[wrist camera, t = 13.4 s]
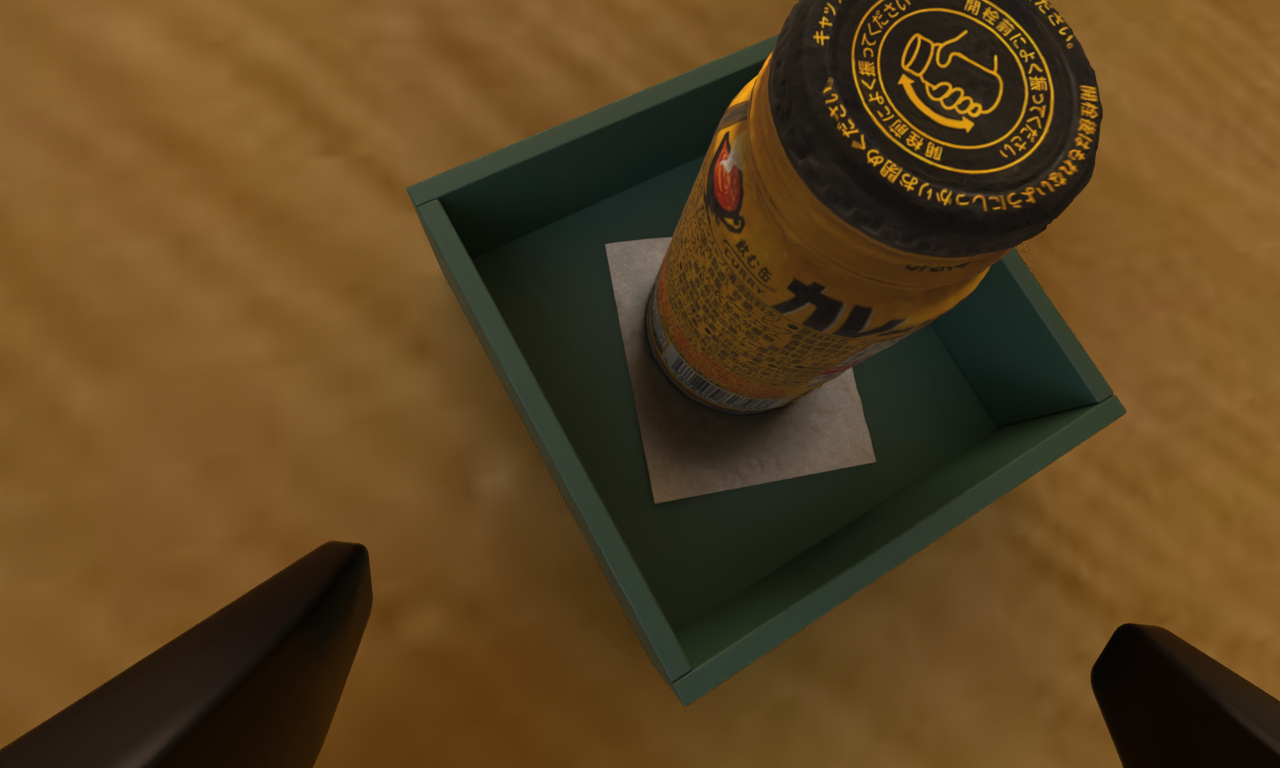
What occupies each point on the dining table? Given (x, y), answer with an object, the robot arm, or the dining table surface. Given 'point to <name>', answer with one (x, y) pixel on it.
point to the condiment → (844, 225)
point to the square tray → (758, 514)
